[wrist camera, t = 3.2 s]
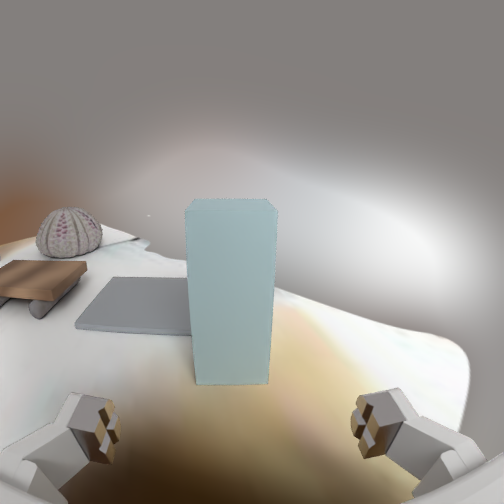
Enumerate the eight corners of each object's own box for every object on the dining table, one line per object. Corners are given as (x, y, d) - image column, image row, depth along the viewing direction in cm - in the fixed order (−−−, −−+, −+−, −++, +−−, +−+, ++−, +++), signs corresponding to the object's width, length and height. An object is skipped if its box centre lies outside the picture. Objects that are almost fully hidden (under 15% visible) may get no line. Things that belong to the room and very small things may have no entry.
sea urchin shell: (84, 238, 57) (81, 200, 55) (117, 248, 50) (114, 204, 48) (30, 253, 46) (24, 211, 44) (52, 269, 39) (45, 218, 37)
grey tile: (75, 328, 25) (74, 323, 25) (114, 281, 36) (113, 276, 36) (196, 335, 26) (195, 329, 26) (204, 282, 37) (204, 277, 37)
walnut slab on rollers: (-20, 310, 24) (-27, 285, 23) (19, 280, 34) (15, 258, 33) (56, 321, 25) (49, 292, 24) (91, 283, 35) (87, 259, 34)
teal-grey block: (196, 384, 20) (184, 210, 16) (200, 345, 24) (194, 198, 21) (267, 383, 20) (277, 211, 16) (260, 344, 25) (266, 199, 21)
